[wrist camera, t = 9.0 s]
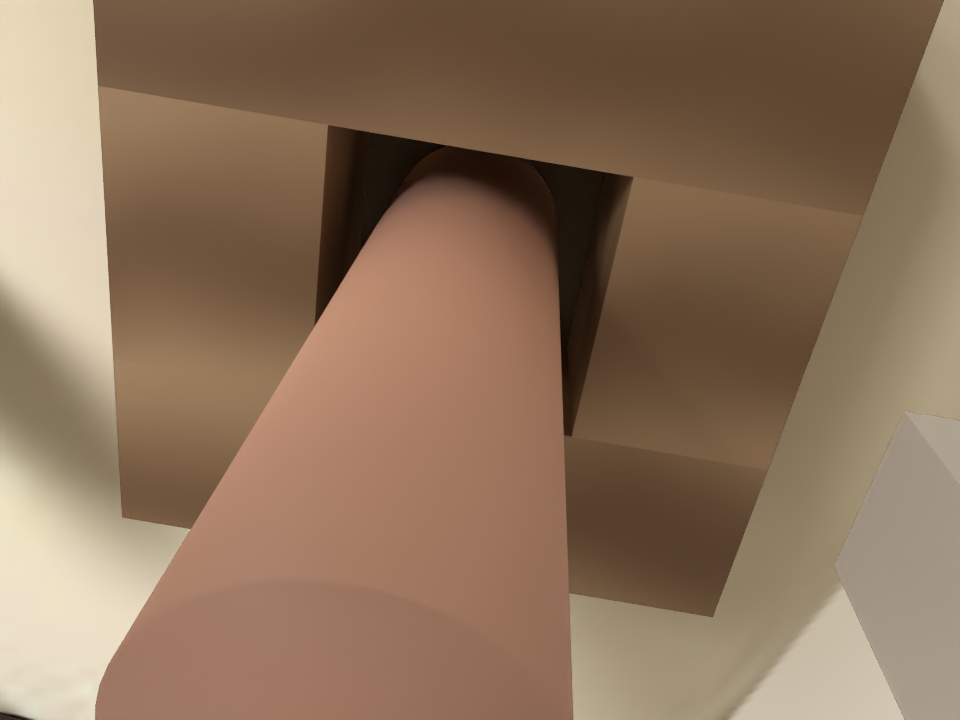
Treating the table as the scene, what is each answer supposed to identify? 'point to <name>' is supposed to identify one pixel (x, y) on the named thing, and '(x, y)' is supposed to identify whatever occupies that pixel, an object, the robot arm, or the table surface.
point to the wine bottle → (7, 717)
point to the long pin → (389, 491)
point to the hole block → (519, 133)
